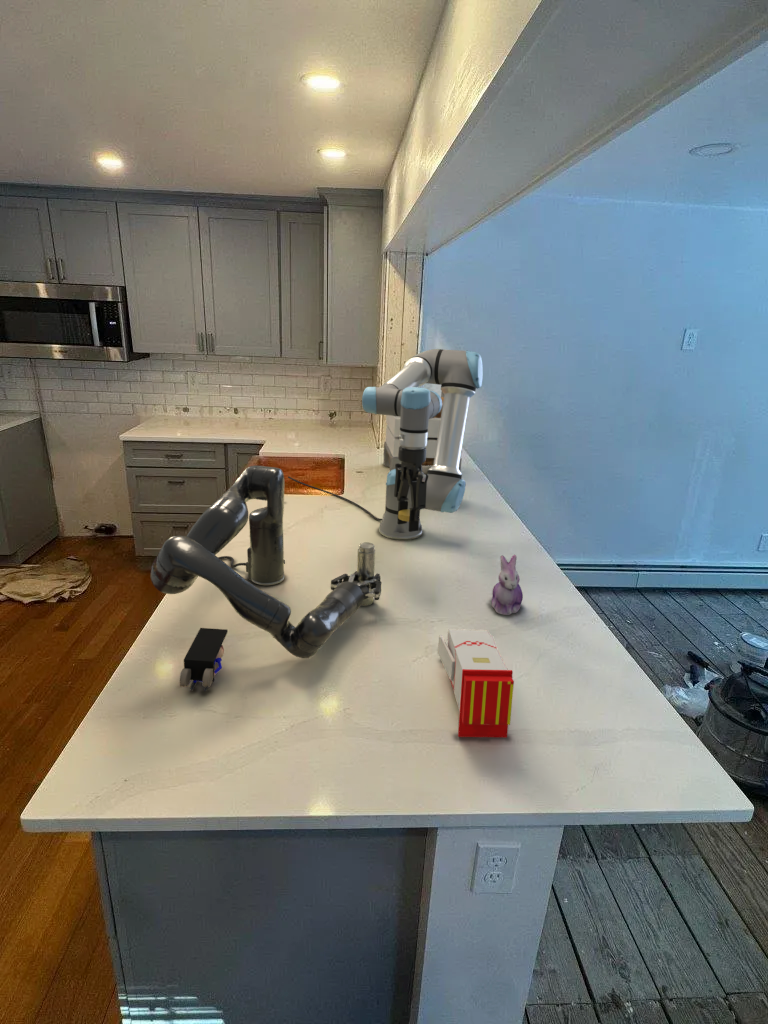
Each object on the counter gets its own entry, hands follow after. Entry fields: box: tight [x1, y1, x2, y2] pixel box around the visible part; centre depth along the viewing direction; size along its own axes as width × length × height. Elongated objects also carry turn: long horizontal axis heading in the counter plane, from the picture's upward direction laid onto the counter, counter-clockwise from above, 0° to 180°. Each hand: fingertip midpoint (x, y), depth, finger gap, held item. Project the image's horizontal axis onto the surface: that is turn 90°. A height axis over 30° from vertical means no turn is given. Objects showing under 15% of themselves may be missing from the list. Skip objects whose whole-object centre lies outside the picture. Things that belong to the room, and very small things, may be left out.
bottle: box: [356, 541, 376, 607], centre depth 150 cm, size 4×4×17 cm
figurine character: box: [178, 627, 228, 692], centre depth 119 cm, size 7×8×15 cm
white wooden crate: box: [383, 391, 463, 473], centre depth 268 cm, size 34×33×41 cm
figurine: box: [491, 554, 524, 616], centre depth 150 cm, size 9×10×15 cm
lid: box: [398, 510, 410, 522], centre depth 159 cm, size 6×6×2 cm
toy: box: [437, 628, 515, 738], centre depth 117 cm, size 12×13×30 cm
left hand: (369, 575), depth 153 cm, fingers closed on bottle, 4 cm apart
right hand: (407, 526), depth 160 cm, fingers closed on lid, 5 cm apart
